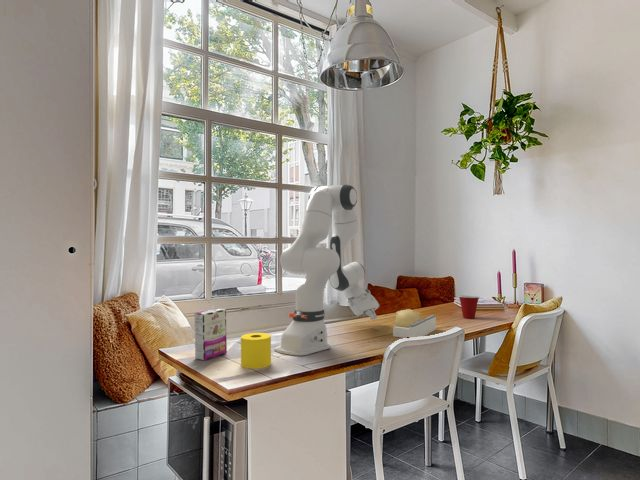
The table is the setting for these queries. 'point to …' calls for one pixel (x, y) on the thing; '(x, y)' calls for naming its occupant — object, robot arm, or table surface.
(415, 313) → the sculpture
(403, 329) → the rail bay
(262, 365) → the yellow toilet paper roll
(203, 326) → the candy bar box
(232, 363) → the table surface
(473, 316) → the plastic cup
